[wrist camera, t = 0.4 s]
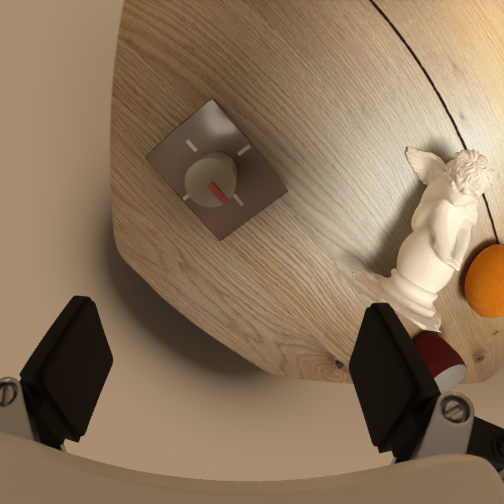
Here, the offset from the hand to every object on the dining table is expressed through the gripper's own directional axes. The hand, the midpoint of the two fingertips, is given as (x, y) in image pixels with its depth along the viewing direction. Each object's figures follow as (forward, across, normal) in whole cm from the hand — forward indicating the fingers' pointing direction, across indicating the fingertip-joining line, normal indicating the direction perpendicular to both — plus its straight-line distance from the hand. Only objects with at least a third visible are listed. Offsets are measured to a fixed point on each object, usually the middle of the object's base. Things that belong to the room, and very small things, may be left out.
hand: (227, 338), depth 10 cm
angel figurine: (+25, -21, +2) cm, 33 cm away
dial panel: (+24, +2, -1) cm, 25 cm away
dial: (+22, +3, -1) cm, 22 cm away
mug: (+25, -30, +25) cm, 46 cm away
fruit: (+25, -39, +11) cm, 47 cm away
